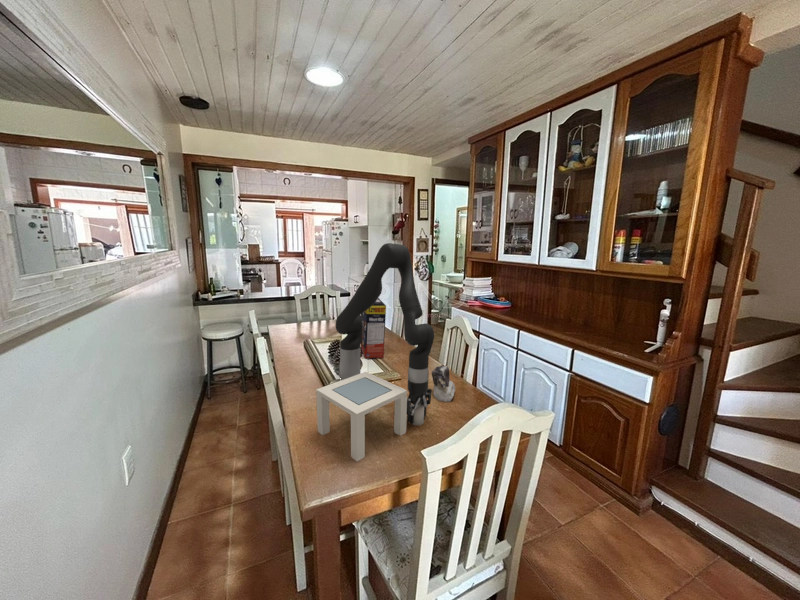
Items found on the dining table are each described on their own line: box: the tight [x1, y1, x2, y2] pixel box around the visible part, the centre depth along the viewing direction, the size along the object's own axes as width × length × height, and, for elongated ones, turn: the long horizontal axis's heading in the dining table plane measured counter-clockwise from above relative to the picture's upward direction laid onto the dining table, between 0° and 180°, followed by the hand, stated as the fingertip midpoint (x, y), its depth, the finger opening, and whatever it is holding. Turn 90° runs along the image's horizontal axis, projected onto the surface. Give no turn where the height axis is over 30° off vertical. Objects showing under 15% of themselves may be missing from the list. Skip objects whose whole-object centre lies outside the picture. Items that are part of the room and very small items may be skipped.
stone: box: [431, 364, 456, 403], centre depth 144 cm, size 14×10×15 cm
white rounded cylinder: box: [410, 403, 425, 426], centre depth 124 cm, size 5×5×6 cm
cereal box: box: [360, 297, 387, 360], centre depth 195 cm, size 27×11×32 cm, turn 14°
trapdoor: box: [333, 378, 391, 405], centre depth 114 cm, size 14×14×1 cm
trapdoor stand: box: [315, 371, 408, 462], centre depth 115 cm, size 22×22×16 cm
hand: (416, 419), depth 124 cm, fingers open, 6 cm apart
